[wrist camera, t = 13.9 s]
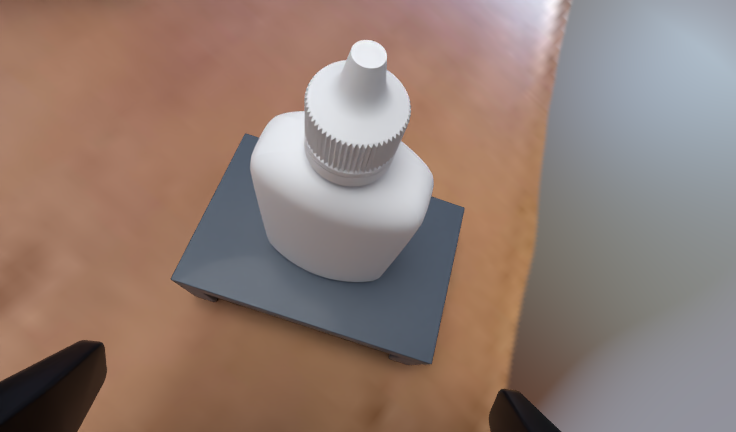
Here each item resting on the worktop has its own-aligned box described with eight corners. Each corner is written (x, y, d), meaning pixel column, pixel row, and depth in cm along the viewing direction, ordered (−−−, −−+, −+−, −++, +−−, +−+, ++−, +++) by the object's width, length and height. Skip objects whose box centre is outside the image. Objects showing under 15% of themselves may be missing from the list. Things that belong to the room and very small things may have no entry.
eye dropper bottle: (326, 176, 20) (355, -71, 9) (402, 258, 19) (543, 96, 8) (255, 227, 18) (180, 7, 7) (333, 319, 17) (387, 229, 6)
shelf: (409, 365, 21) (431, 364, 17) (194, 295, 20) (169, 279, 17) (440, 232, 24) (465, 207, 20) (254, 169, 24) (245, 132, 20)
